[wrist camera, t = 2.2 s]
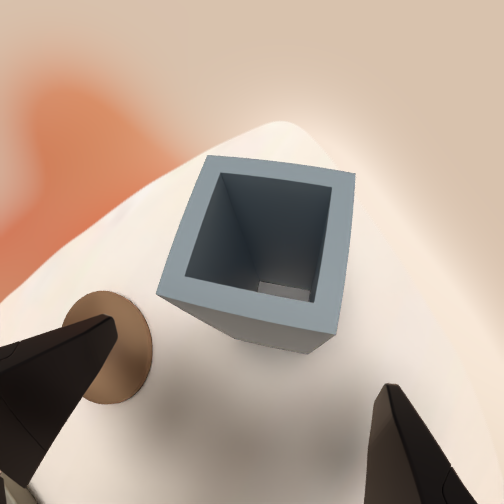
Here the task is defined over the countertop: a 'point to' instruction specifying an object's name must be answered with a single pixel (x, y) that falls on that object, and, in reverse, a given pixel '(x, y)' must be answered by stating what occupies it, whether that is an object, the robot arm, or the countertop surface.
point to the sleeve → (263, 250)
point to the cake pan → (16, 492)
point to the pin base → (117, 347)
